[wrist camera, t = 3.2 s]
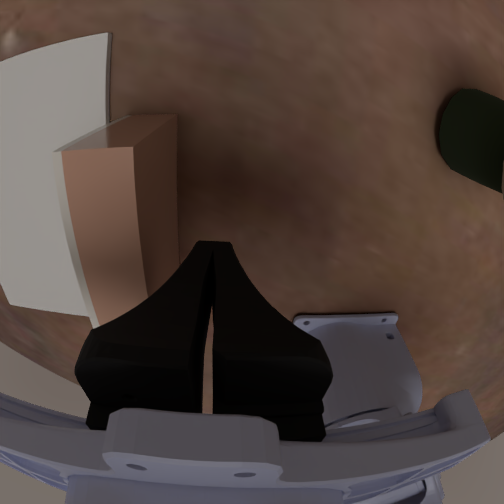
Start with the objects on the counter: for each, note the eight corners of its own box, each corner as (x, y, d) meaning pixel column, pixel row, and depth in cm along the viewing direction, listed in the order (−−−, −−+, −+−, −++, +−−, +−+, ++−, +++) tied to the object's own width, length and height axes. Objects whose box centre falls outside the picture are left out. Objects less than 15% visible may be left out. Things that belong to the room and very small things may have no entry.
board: (112, 33, 12) (108, 32, 11) (134, 315, 22) (132, 321, 22) (-36, 79, 10) (-41, 80, 10) (12, 300, 21) (9, 304, 21)
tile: (178, 113, 15) (132, 146, 8) (179, 266, 20) (160, 361, 14) (126, 115, 15) (51, 152, 8) (137, 264, 20) (104, 355, 13)
